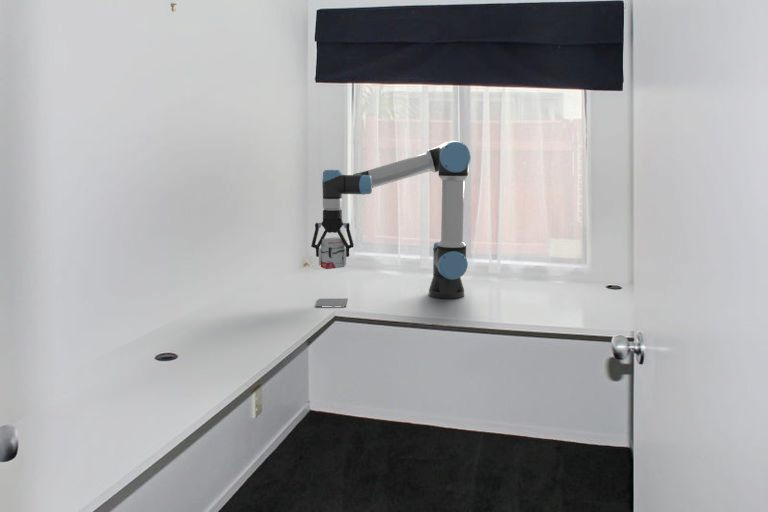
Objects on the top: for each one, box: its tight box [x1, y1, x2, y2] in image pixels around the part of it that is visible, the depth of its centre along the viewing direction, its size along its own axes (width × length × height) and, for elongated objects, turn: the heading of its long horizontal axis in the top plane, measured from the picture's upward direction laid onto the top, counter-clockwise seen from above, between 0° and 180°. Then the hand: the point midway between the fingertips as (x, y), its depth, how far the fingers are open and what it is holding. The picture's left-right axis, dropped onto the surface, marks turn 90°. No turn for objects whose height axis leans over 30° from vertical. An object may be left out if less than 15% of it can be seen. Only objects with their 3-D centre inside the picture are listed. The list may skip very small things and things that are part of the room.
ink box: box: [320, 236, 346, 270], centre depth 245 cm, size 8×5×12 cm, turn 123°
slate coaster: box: [315, 298, 349, 308], centre depth 249 cm, size 12×12×1 cm
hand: (332, 264), depth 246 cm, fingers closed on ink box, 9 cm apart
